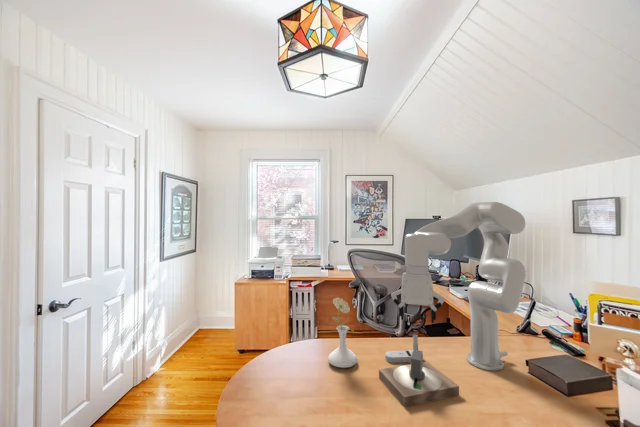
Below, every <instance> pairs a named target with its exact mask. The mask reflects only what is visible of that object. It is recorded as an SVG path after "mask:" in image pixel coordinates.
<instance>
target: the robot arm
mask: <svg viewBox="0 0 640 427" xmlns="http://www.w3.org/2000/svg"><path fill="white" fill-rule="evenodd" d="M477 228H478V229H479V231H480V233H481V235H482V238H483V248H482V253H481V256H480V260H479V264H478V272H477V273H478V274H479V276H480V277H481V278H484V279H486V280H488V281H489V280H490V281H494V282H498V283H502V284H496V283H492V282H487V281H484V280H483V281H481V280H476V281H473V282H471V283H470V284H469V285H468V287H467V292H466V293H467V297H468V302H469V309H470V310H469V312H470V314H469V315H470V352H468V353H467V354H466V355H465V356H466V358H465V359H466V361H467V362H468V363H469V364H471V366H473V367H477V368H478V369H481V370H485V371H494V372H495V371H501V370H503V369H504V362H503V361H502V360H501V359H502V358H503V357H508V356H509V355H508V352H507V351H506V350H502V351H501V350H499V347H500V346H499V340H500V339H499V318H498V317H499V316H498V315H497V312H501V313H504V314H508V315H509V314H510V315H511V314H514V313H515V312H516V311H517V309H518V308H519V305H520V302H521V297H522V293H523V290H524V286H525V281H526V276H527V275H526V272H527V271H526V269H525V268H526V267H525V265H524V264H523V263H522V261H520V260H517V259H515V258H508V253H509V244H508V242H507V240H506V239H505V237H504V235H505V234H506V235H508V234H509V235H517V234H520V233H521V232H523V231H524V229H525V228H526V219H525V217H524V215H522V213H521V212H519V211H517V210H516V209H514V208H513V207H510V205H509V206H508V205H506V204H504V203H503V202H502V203H501V202H499V201H482V202H474V203H470V204H468V205H467V206H465V207H463V208H462V209H460V210H458V212H456V213H454V214H453V215H451V216H448V217H446V218H442V219H440V220H437V221H433V222H431V223H427V224H426V225H424V226H422V227H421V228H419V229H418V230H416V231H415V232H414V233H407V234H405V236H404V265H403V264H402V265H400V270H402V271H405V272H403V273H402V277H401V288H400V289H397V290H395V291H392V292H391V293H390V297H391V299H392V301H393V303H394V304H395V305H396V306H397V307H398V309H399V310H398V316H399V317H400V320H401V321H403V320H404V317H405V316H404V315H405V313H404V312H405V310H404V309H405V306H404V305H405V304H406V305H413V306H425V307H427V306H428V307H430V321H431V323H432V324H434V322H435V321H436V320H437V318H436V317H437V314H436V313H437V311H438V309H440V308H442V305H443V304H444V302H445V300H446V299H445V297H444V296H443V295H441V294H439V293H437V292H435V291H434V289H433V280H432V279H433V278H432V274H430V273H429V255H444V254H446V253H448V252H449V251H450V249H451V247H452V241H451V239H455V238H461V237H464V236H468V234H469V233H471V232H473V230H475V229H477ZM502 234H503V235H502ZM399 295H400V296H401V297H400V298H401V300H399V298H397V296H399ZM434 298H435V299H438V301H437V302H436V303H434ZM496 311H497V312H496Z"/></svg>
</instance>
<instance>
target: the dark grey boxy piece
mask: <svg viewBox="0 0 640 427" xmlns="http://www.w3.org/2000/svg"><path fill="white" fill-rule="evenodd" d="M412 350H413V349H412ZM423 362H424V354H423V350H419V349H418V350H413V353H412V357H411V362H410V364H411V370H409V376H410V377H411V378H412V379H414V385H413V387H416V385H417V380H424V379H425V373H424V372H423V371H422V369H423Z"/></svg>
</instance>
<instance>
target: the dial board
mask: <svg viewBox="0 0 640 427" xmlns="http://www.w3.org/2000/svg"><path fill="white" fill-rule="evenodd" d="M409 370H411V363H410V364H404V365H398V366H393V367H386V368H380V369H379V370H378V378H379V380H380V381H381V382H382V383H383V384H384V385H385V386H386V387H387V389H388V390H389V391H390V392H391V393H392V395H393V396H394V397H395V398H396V400H398V402H399V403H400V404H401V405H402V406H403V407H404V408H407V407H412V406H417V405H420V404H426V403H430V402H436V401H439V400H444V399H449V398H453V397H458V396H460V385H458V384H457V383H455V382H454V381H453V379H451V378H449V377H448V376H447V375H446V374H444V373H443V372H441V371H440V370H439V369H437V368H436V367H435V366H434V365H432V364H431V363H430V362H428V361H423V369H422V371H423V372H424V373H425V379H424V380H417V385H416V387H413V385H414V379H412V378H411V377H410V376H409Z"/></svg>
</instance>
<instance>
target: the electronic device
mask: <svg viewBox="0 0 640 427" xmlns="http://www.w3.org/2000/svg"><path fill="white" fill-rule="evenodd" d="M418 339H419V338H418V334H414V333H413V334H412V349H411V350H410V349H409V350H388V351H386V352H385V353H384V354H385V355H384V356H385V357H384V358H385V361H386V362H388V363H391V364H392V363H393V364H394V363H395V364H397V363H398V364H400V363H402V364H403V363H411V357H412V353H413V350H419V342H418Z"/></svg>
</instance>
